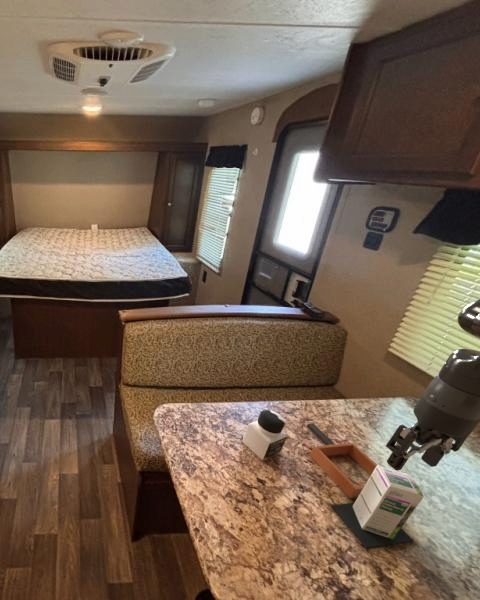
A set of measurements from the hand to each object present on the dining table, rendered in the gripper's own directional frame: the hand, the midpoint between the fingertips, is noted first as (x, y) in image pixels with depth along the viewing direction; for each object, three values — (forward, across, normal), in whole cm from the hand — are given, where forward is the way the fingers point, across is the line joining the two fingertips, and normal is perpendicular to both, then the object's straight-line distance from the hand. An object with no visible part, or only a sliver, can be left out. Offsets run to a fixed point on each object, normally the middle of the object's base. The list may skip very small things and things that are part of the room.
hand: (410, 464), depth 65 cm
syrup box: (+19, 0, 0) cm, 19 cm away
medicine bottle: (+20, -12, +22) cm, 32 cm away
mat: (+19, 0, 0) cm, 19 cm away
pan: (+19, +7, +16) cm, 26 cm away
